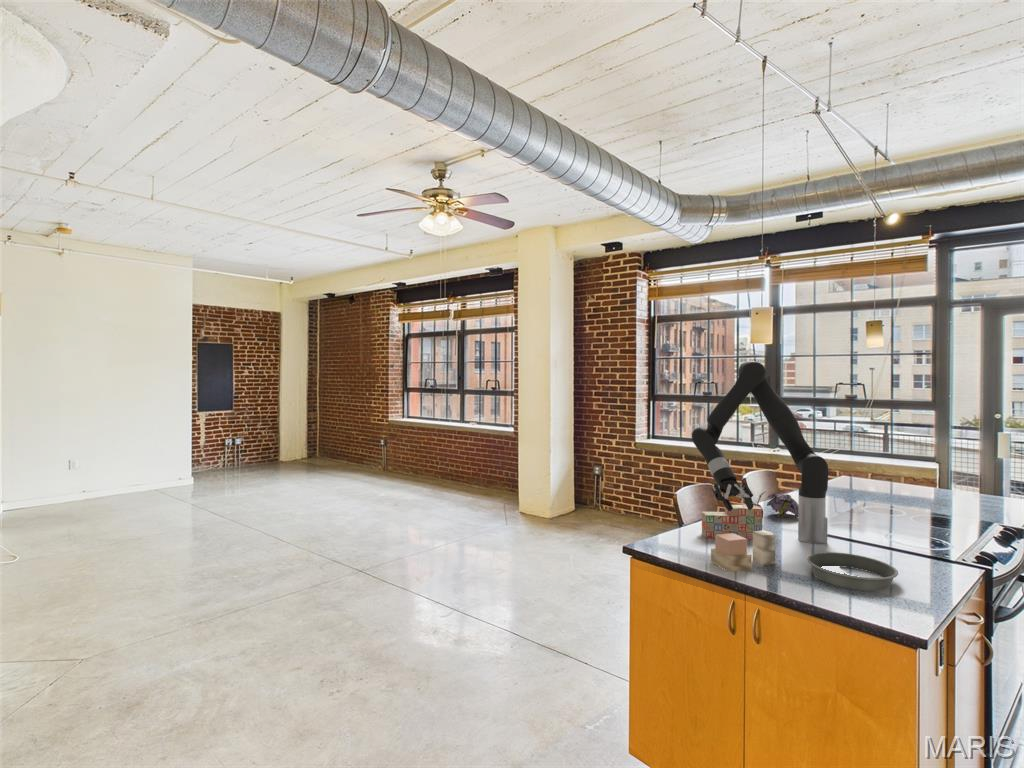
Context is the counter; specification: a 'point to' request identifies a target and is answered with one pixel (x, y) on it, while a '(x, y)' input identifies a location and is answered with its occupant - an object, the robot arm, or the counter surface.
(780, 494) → the decorative flower
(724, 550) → the tower top
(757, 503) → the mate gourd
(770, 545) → the pillar
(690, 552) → the counter surface
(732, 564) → the tower base
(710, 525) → the stack of blocks
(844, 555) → the cake pan
